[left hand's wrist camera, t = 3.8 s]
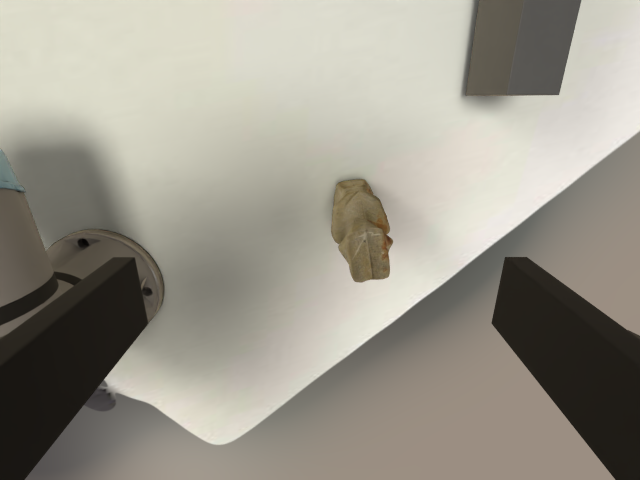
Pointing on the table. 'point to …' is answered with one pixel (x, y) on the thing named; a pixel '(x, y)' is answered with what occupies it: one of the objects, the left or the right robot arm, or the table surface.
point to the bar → (521, 47)
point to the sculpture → (361, 230)
